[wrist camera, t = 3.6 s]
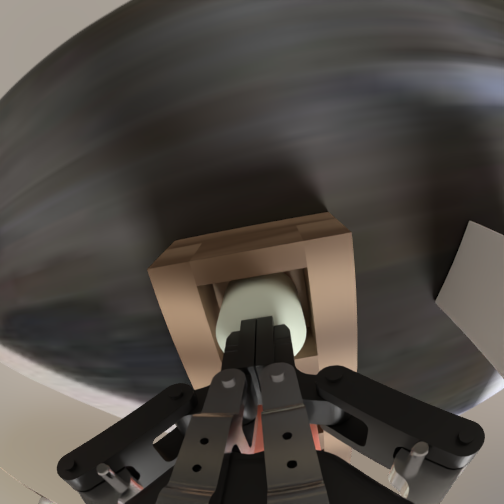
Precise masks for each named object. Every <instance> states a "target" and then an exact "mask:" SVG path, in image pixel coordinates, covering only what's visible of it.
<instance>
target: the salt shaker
mask: <svg viewBox="0 0 504 504" xmlns="http://www.w3.org/2000/svg"><path fill="white" fill-rule="evenodd" d="M39 504H51V501H50V500H49V499H47V498H45V497H42V498H40V500H39Z"/></svg>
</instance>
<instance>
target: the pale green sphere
mask: <svg viewBox="0 0 504 504" xmlns="http://www.w3.org/2000/svg"><path fill="white" fill-rule="evenodd" d="M266 316H273V321H274V326H275V325H281V324H285V325H286V326H287V327H288V328H289V329H290V333H291V340H292V346H293V352H294V356H295V355H296V354H297V353H298V352H299V351H300V350H301V348H302V346H303V344H304V342H305V338H306V325H305V320H304V316H303V312H302V307H301V303H300V299H299V295H298V291H297V288H296V286H295V284H294V282H293V281H292V280H291V279H290V278H289V277H288V276H287V275H286V274H285V273H283V272H278V273H272V274H267V275H261V276H255V277H249V278H243V279H237V280H231V281H230V282H229V284H228V286H227V288H226V291H225V295H224V298H223V302H222V306H221V310H220V313H219V317H218V321H217V325H216V338H217V342H218V344H219V346H220V348H221V349H222V351H223V352H224V350H225V344H226V339H227V337H228V336H229V335H230V334H231V332H234V331H240V325H241V320H247V319H254V318H256V319H257V318H260V317H266Z"/></svg>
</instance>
